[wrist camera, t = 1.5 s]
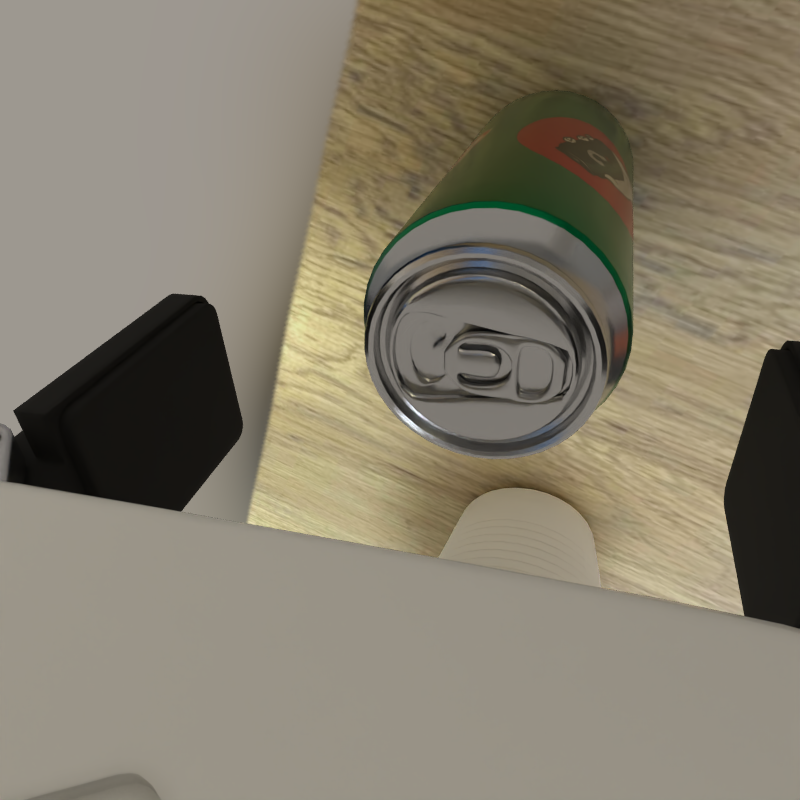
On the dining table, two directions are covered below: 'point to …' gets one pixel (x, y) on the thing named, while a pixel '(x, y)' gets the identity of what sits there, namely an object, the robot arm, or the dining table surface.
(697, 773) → the robot arm
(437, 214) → the soda can
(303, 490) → the dining table surface
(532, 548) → the cup
